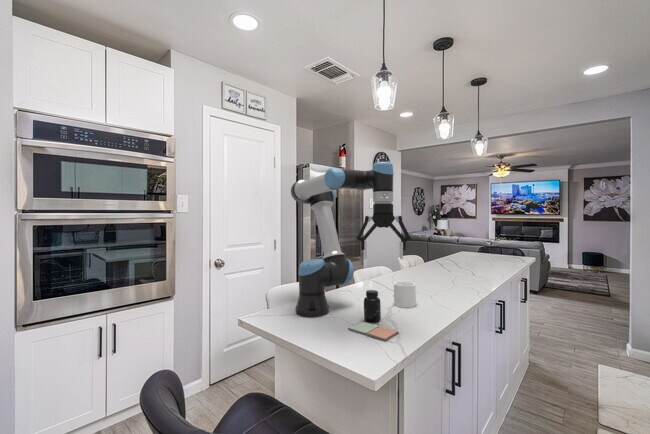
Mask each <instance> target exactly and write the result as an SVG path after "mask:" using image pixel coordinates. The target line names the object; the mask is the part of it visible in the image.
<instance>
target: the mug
mask: <svg viewBox="0 0 650 434" xmlns="http://www.w3.org/2000/svg"><path fill="white" fill-rule="evenodd" d="M416 297H417V296H416V283H415V282H411V281H395V282H394V283H393V301H394V303H393V304H394V307H397V308H399V309H400V308H401V309H414V308H415V307H416V304H417V302H416Z"/></svg>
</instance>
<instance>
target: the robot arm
mask: <svg viewBox="0 0 650 434" xmlns="http://www.w3.org/2000/svg"><path fill="white" fill-rule="evenodd" d="M394 174H395V173H394V165H393V163H392V162H390V161H377V162H374V164H373V165H372V169H370V170H360V169H359V170H358V169H346V168H339V167H332V168H328V169H327V171H326V172H325V173H324V174H321V175H317V176H316V177H313V178H309V179H300V180H298V181H295V182H294V183H292V185H291V187H290V194H291V197H292V199H293V201H296V202H297V203H300V204H304V205H305V204H306V205H307V204H308V205H309V206H310V209H311V210H312V211H314V215H315V219H316V224H317V229H318V233H319V237H320V242H321V247H322V251H323V257H322V258H314V259H313V258H311V259H306V260H303V261H302V262H301V263H300V264H299V265H298V272H297V273H298V291H299V295H298V299H297V305H296V307H295V314H296V315H297V316H299V315H300V317H302V318H303V317H304V318H317V317H323V316H326V315H328V314H329V313H330V306H329V304H328V301H327V297H326V291H325V288H326V287H334V286H342V285H345V284H348V283H350V282H351V281H352V279H353V277H354V272H355V271H354V265H353V262H352V261H351V260H350V259H348V258H347V257H346V254H345V253H344V252H342V248H341V245H340V241H339V237H338V232H337V228H336V223H335V220H334V216H333V215H334V214H333V211H332V206H333V204H334V203H335V199H336V190H340V189H351V190H358V191H366V190H373V191H372V201H373V203H374V204H373V205H372V208H373V209H372V213H373V214H372V216H368V215H365V216H364V222H363V224H362V226H361V228H360V230H359V232H358V233H357V235H356V240H357V241H360V242H361V243H360V245H361V247H360V248H361V251H363V259H364V260H367V257H368V255H367V249H368V248H367V247H368V246H367V245H368V244H367V243H368V242H367V241H366V240H367V238H369V236H370V235H371V234H372V233H373V231H375V229H376V228H379V229H380V228H390V229H391V230H392V231H393V232H394V233H395V235H397V237H398V238H399V239H400V240H401V241H399V259H400V260H403V259H404V251H406V248H407V245H406V243H407V242H408V241H410V240H411V239H412V238H411V236H410V233H409V232H408V230H407V228H406V226H405V224H404V222H403V217H402V215H397V216H395V215H394V204H393V202H394ZM371 221H373V224H372V226H371V227H370V228H369V229H368V230H367V231H366V233H365V234H364V231H365V229H366V228H367V226H368V223H369V222H371ZM394 221H396V222H397V223H398V225H399V227H400V229H401V231H402V232H403V234H402V233H401V232H400V231H399V230H398V229H397V227H396V226H395V225H394V224H393V222H394ZM363 234H364V235H363Z"/></svg>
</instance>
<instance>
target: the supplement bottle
mask: <svg viewBox="0 0 650 434" xmlns="http://www.w3.org/2000/svg"><path fill="white" fill-rule="evenodd" d="M381 306H382V305H381V298H379V292H378V290H374V289H372V290H371V289H368V290H366V291H365V297H364V299H363V320H364V321H365V323H369V324H376V323H377V324H378V323H379V322H381V320H382V318H381V317H382V316H381V313H382V312H381V309H382V308H381Z"/></svg>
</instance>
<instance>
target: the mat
mask: <svg viewBox="0 0 650 434" xmlns="http://www.w3.org/2000/svg"><path fill="white" fill-rule="evenodd" d="M347 330H348V331H350V332H352V333H356V334H360V335H363V336H366V337H370V338H372V339H376V340H379V341H383V342H388V341H389V340H390V339H392V338H394V337H395V336H397V335H399V334H400V332H399V330H398V331H397V330H395V329H391V328H388V327H384V326H379V325H376V324H374V323H369V322H366V321H365V322H364V321H362V322H359V323H357V324H355V325H353V326H351V327H349V328H348V329H347Z"/></svg>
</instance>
